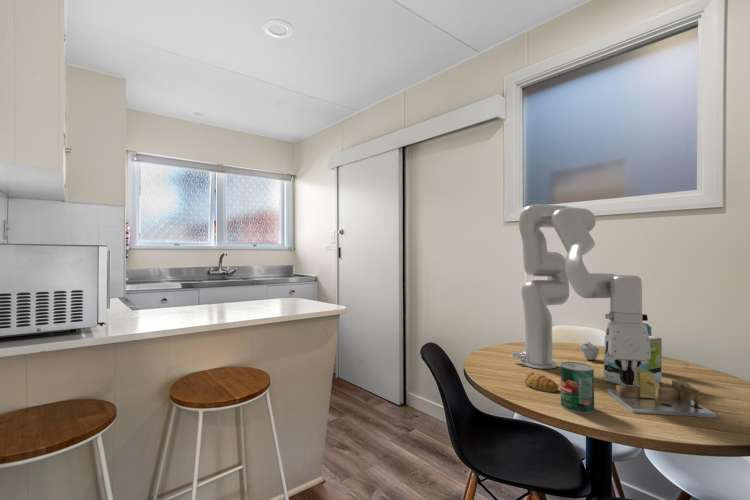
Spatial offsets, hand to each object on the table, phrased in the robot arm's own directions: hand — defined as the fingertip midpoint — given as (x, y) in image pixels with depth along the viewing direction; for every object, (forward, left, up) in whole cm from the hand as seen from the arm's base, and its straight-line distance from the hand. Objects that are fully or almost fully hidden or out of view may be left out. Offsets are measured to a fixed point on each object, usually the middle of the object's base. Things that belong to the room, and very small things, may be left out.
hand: (627, 383), depth 104 cm
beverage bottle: (+20, +32, -5) cm, 38 cm away
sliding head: (+4, -2, -3) cm, 6 cm away
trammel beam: (+6, -2, -3) cm, 7 cm away
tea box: (+10, +17, -5) cm, 20 cm away
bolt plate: (+6, -3, -4) cm, 8 cm away
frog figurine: (+7, +43, -5) cm, 44 cm away
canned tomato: (-16, -9, -5) cm, 19 cm away
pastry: (-21, +6, -5) cm, 23 cm away
